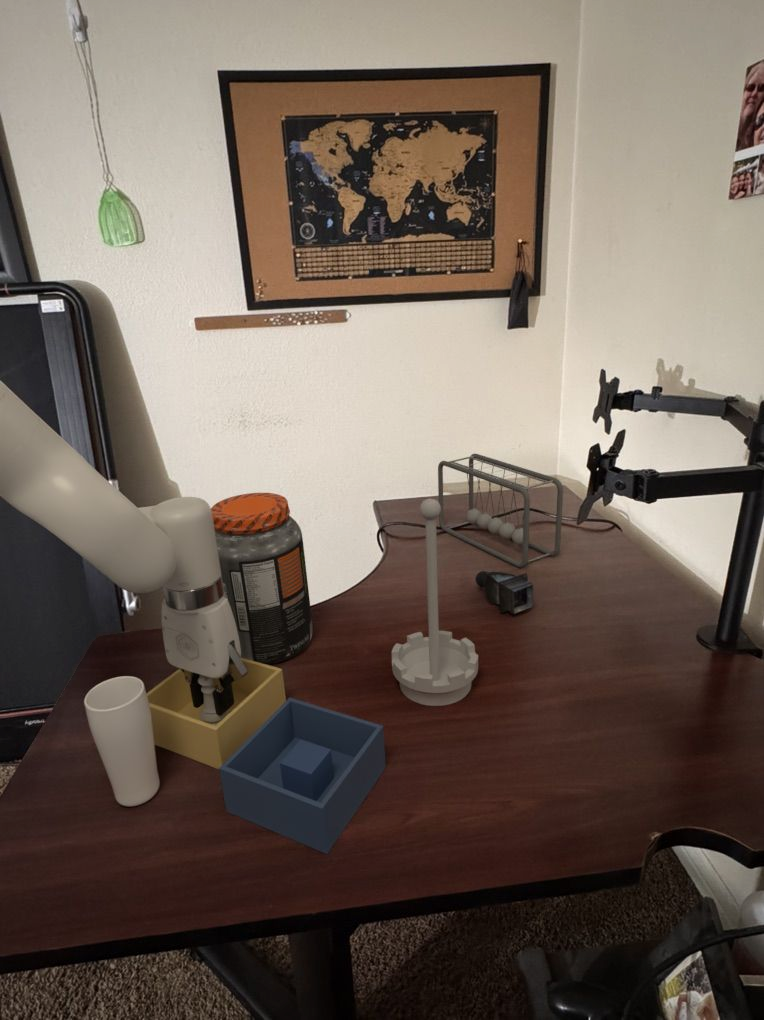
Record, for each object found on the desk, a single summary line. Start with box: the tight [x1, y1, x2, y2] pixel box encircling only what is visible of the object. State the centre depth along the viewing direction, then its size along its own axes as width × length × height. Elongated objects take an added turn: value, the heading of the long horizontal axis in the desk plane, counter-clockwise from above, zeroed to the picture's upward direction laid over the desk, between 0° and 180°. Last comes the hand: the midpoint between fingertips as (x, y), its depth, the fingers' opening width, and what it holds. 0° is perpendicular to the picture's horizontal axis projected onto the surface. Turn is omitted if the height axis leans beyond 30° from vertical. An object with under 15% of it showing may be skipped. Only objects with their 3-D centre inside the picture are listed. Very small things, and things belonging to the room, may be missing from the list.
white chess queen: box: [198, 675, 231, 726], centre depth 89 cm, size 4×4×8 cm
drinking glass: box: [83, 675, 161, 807], centre depth 76 cm, size 7×7×15 cm
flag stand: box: [391, 498, 479, 707], centre depth 91 cm, size 13×13×30 cm
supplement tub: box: [210, 492, 314, 665], centre depth 105 cm, size 16×16×26 cm
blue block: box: [280, 739, 334, 801], centre depth 77 cm, size 4×4×4 cm
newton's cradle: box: [437, 453, 564, 569], centre depth 142 cm, size 30×10×18 cm, turn 32°
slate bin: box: [218, 697, 387, 855], centre depth 77 cm, size 14×14×7 cm
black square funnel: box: [475, 570, 534, 615], centre depth 118 cm, size 6×13×6 cm, turn 30°
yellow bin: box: [146, 658, 287, 770], centre depth 89 cm, size 14×14×7 cm
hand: (214, 704), depth 89 cm, fingers closed on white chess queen, 3 cm apart
